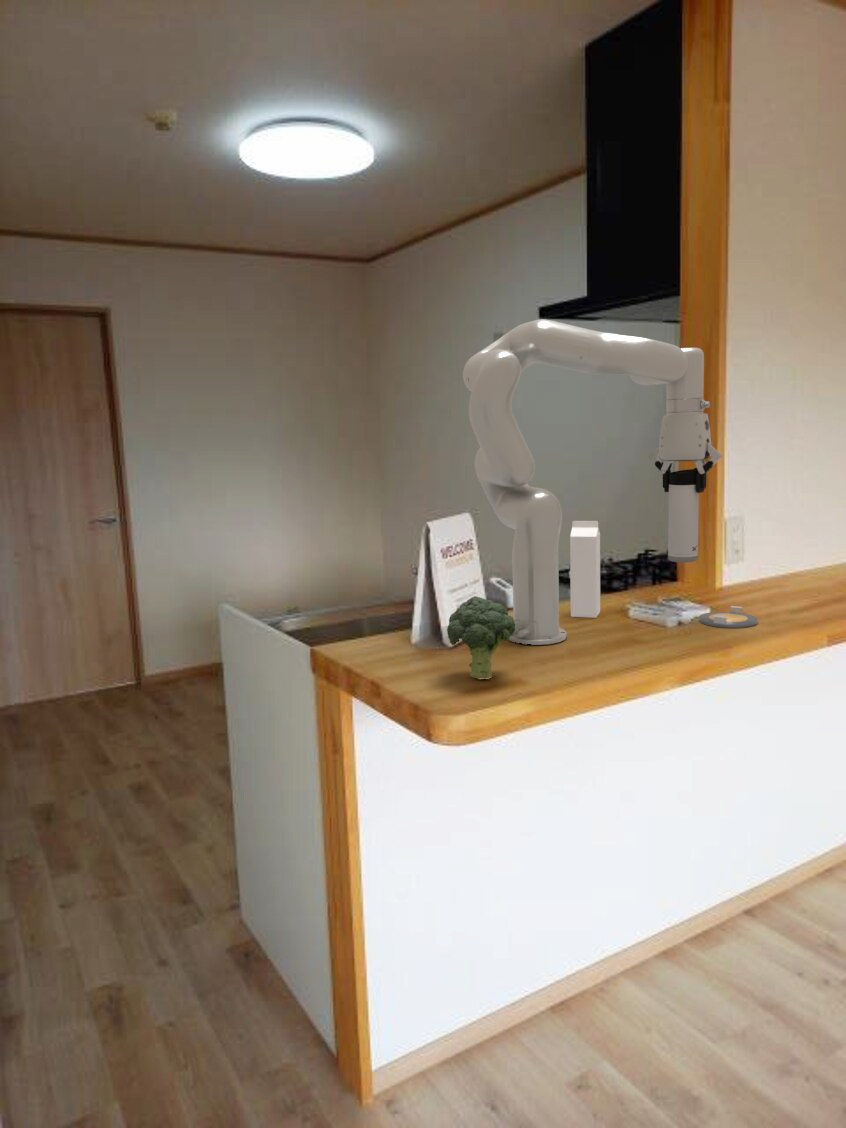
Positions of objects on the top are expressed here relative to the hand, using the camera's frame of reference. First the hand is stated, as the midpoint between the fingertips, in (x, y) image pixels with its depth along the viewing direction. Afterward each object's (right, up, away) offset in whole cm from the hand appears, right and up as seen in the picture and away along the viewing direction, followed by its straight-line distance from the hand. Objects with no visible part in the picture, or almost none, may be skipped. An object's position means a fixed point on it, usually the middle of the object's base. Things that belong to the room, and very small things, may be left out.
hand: (684, 491), depth 182 cm
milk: (-19, -28, +14) cm, 36 cm away
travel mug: (+1, -15, +3) cm, 15 cm away
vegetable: (-46, -37, -31) cm, 66 cm away
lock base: (+10, -28, +2) cm, 30 cm away
